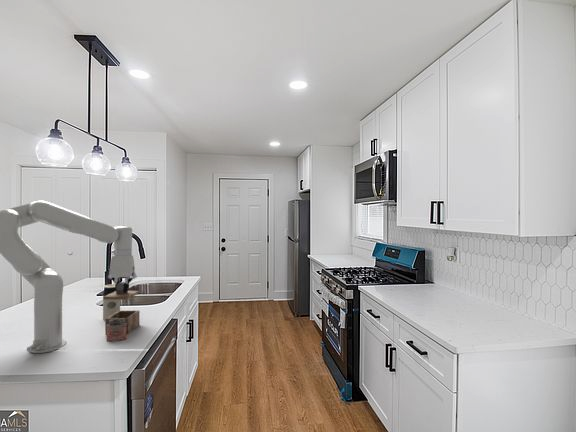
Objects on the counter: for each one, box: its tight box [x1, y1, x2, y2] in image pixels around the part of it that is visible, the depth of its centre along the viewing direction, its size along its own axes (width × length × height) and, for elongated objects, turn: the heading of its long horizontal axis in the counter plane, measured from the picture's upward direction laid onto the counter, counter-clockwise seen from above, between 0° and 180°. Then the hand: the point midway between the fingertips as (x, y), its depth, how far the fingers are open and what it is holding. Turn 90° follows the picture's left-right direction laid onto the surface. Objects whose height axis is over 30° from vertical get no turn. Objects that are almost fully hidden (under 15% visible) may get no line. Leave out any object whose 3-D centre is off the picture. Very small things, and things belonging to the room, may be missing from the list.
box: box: [104, 310, 140, 336], centre depth 161 cm, size 13×10×8 cm
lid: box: [102, 281, 140, 301], centre depth 160 cm, size 14×11×6 cm
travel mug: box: [102, 283, 121, 321], centre depth 178 cm, size 8×8×18 cm
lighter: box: [105, 318, 128, 343], centre depth 148 cm, size 8×3×10 cm, turn 105°
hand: (122, 291), depth 160 cm, fingers closed on lid, 3 cm apart
